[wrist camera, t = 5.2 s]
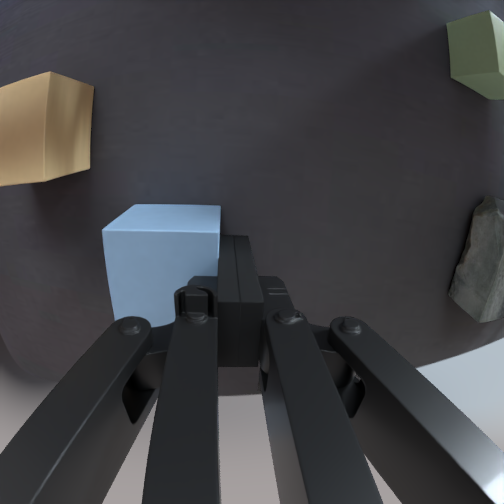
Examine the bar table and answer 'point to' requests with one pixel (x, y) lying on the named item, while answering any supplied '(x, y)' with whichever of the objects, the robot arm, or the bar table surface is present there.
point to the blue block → (158, 256)
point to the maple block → (44, 128)
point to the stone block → (482, 264)
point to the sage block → (478, 53)
